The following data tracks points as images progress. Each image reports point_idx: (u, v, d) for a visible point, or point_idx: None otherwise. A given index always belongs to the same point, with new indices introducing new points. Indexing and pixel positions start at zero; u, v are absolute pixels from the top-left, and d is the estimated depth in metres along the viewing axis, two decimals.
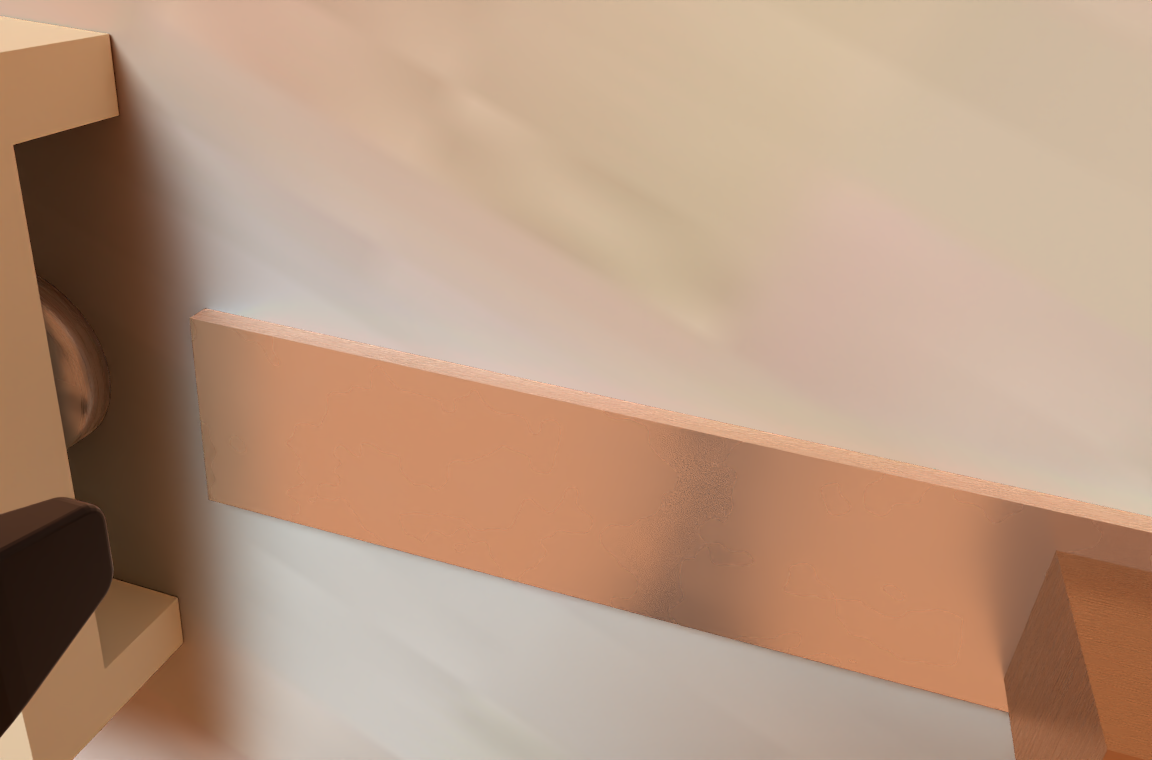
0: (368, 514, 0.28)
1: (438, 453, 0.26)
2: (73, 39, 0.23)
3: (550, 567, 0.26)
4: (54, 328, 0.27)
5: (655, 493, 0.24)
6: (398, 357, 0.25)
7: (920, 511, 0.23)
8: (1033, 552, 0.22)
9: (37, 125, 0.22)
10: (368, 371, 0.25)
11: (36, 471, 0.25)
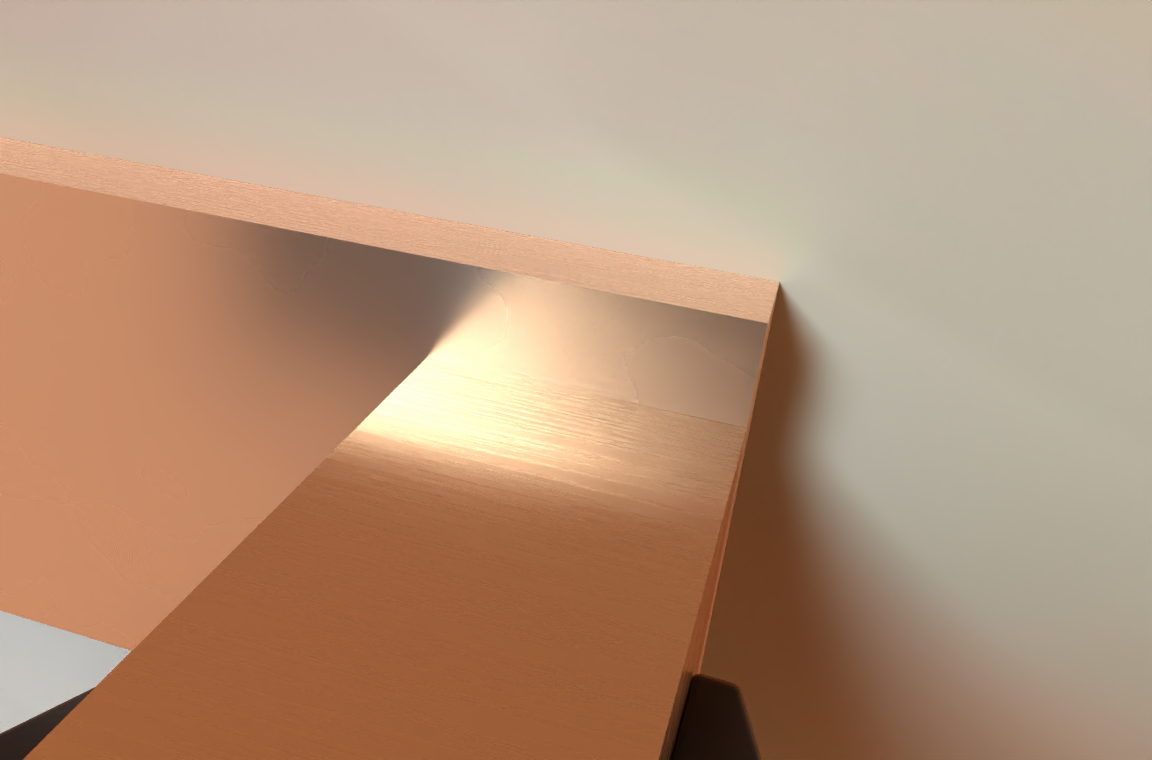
0: None
1: None
2: None
3: None
4: None
5: None
6: None
7: (140, 277, 0.10)
8: (384, 367, 0.09)
9: None
10: None
11: None
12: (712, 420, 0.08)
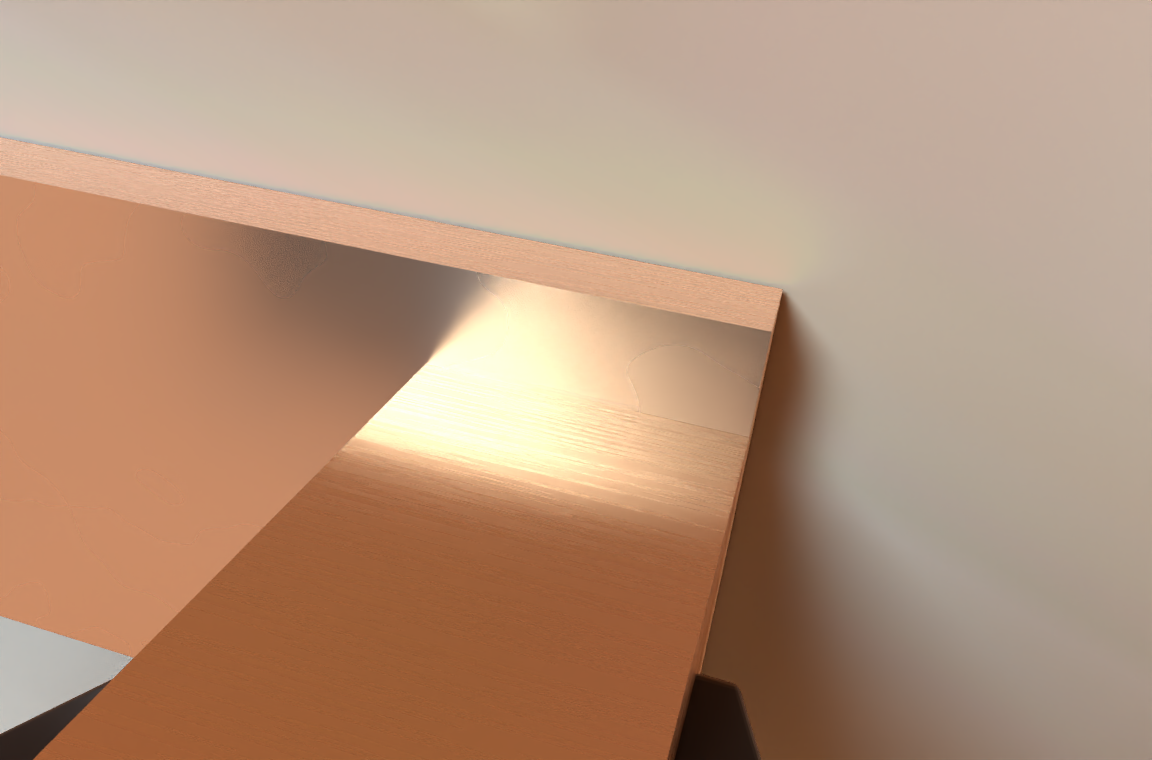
0: None
1: None
2: None
3: None
4: None
5: None
6: None
7: (136, 279, 0.09)
8: (383, 372, 0.09)
9: None
10: None
11: None
12: (714, 429, 0.08)
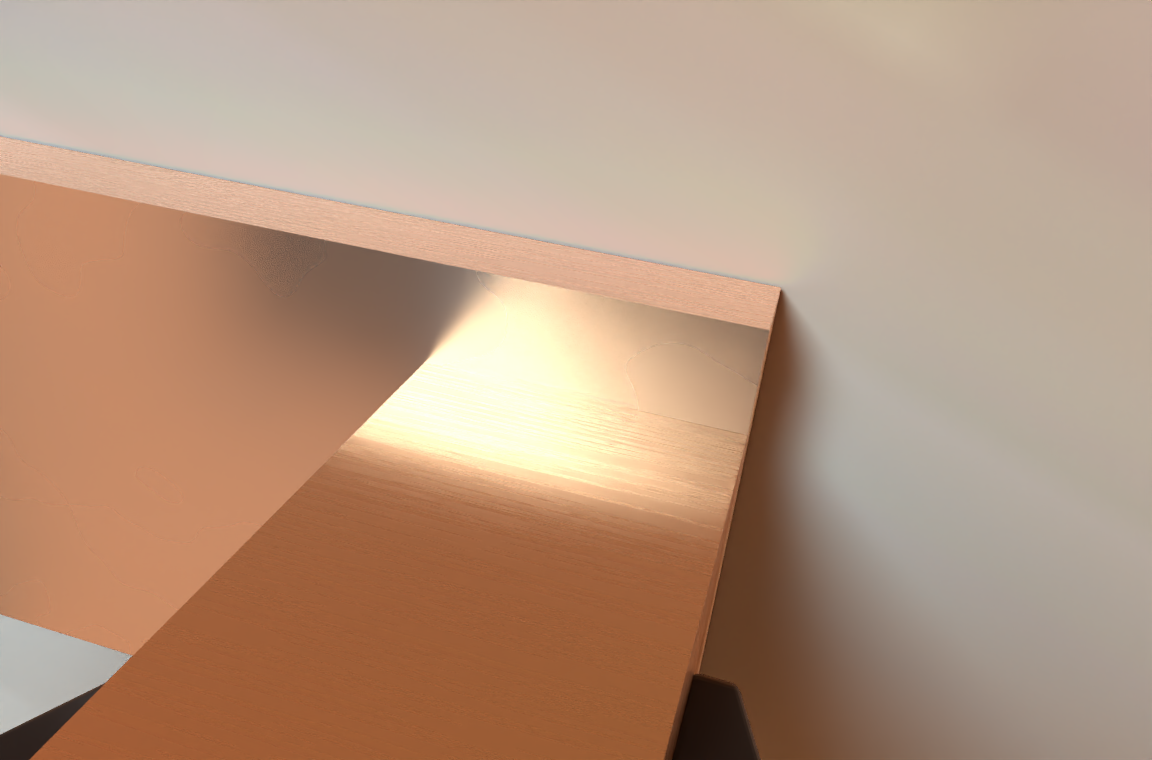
0: None
1: None
2: None
3: None
4: None
5: None
6: None
7: (135, 278, 0.09)
8: (382, 371, 0.09)
9: None
10: None
11: None
12: (713, 427, 0.08)
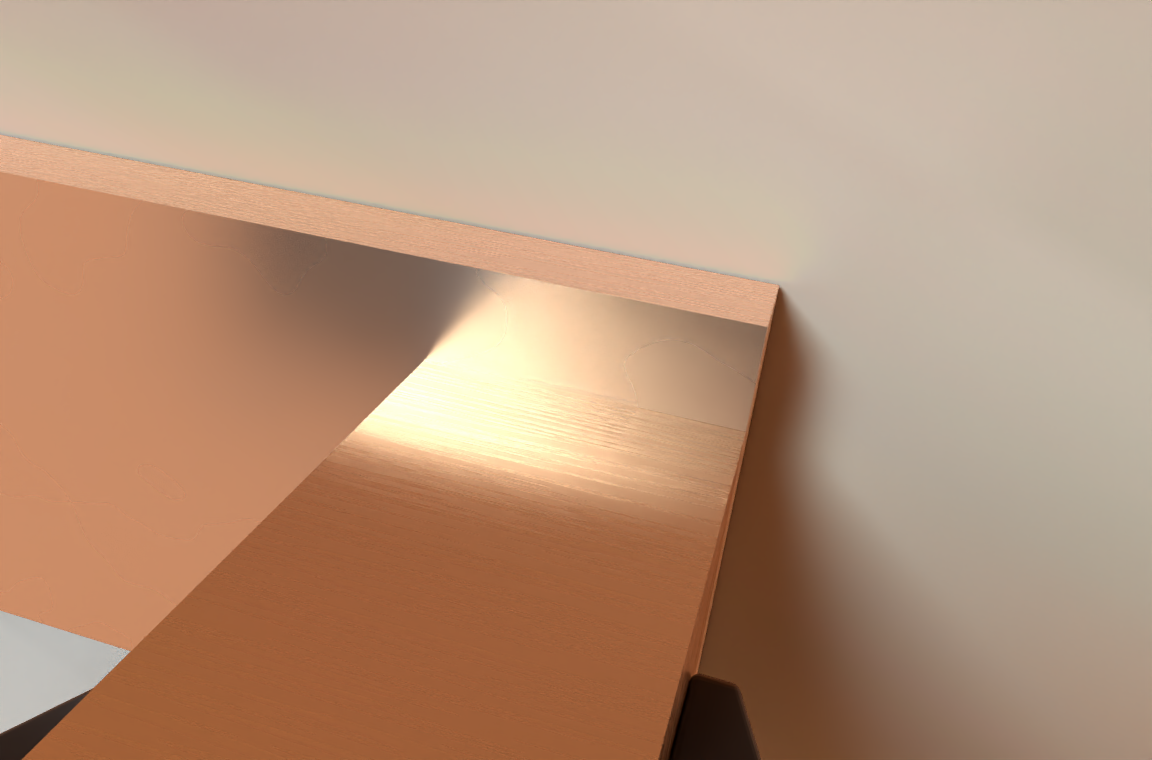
0: None
1: None
2: None
3: None
4: None
5: None
6: None
7: (138, 276, 0.10)
8: (382, 368, 0.09)
9: None
10: None
11: None
12: (711, 424, 0.08)
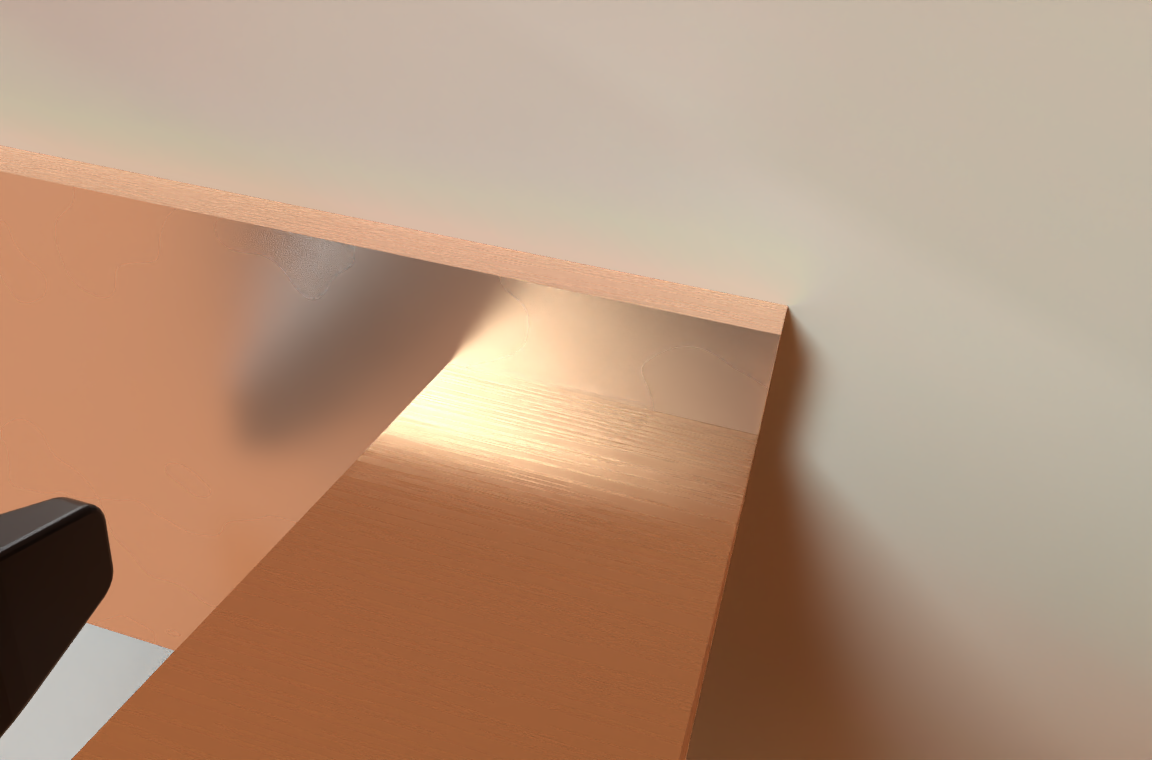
0: None
1: None
2: None
3: None
4: None
5: None
6: None
7: (170, 280, 0.10)
8: (407, 371, 0.09)
9: None
10: None
11: None
12: (723, 427, 0.09)
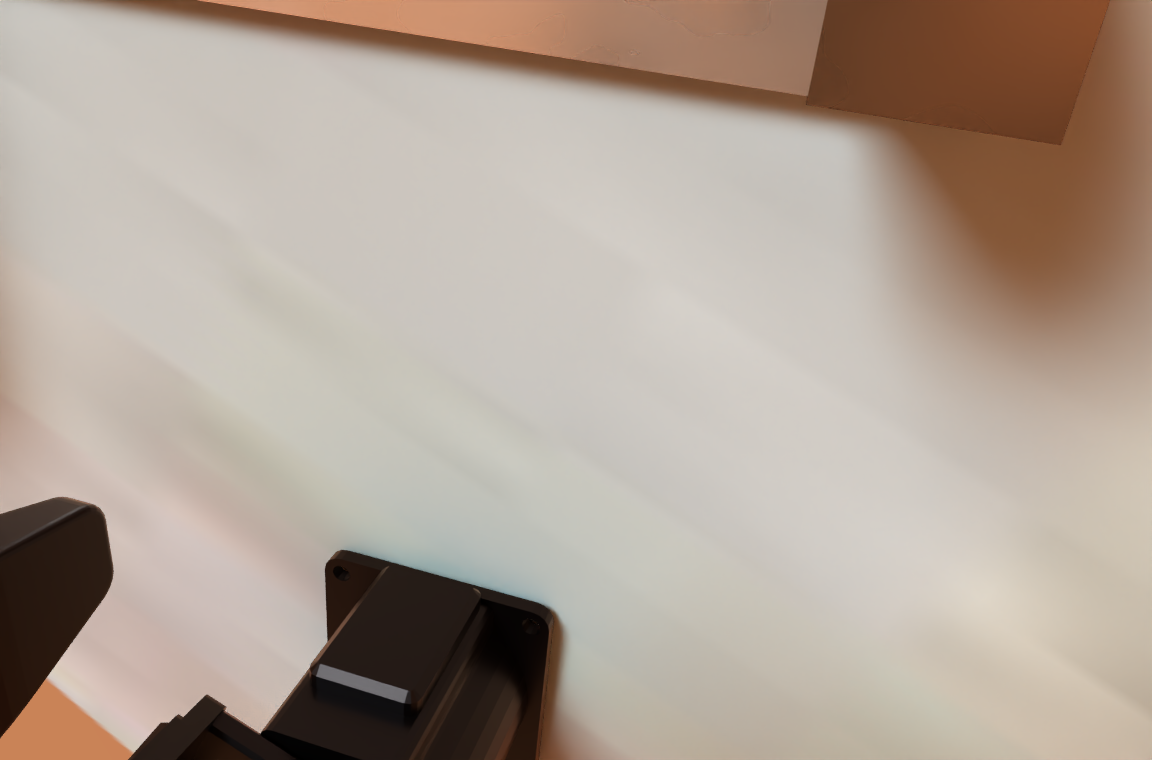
0: None
1: None
2: None
3: None
4: None
5: None
6: None
7: None
8: None
9: None
10: None
11: None
12: None
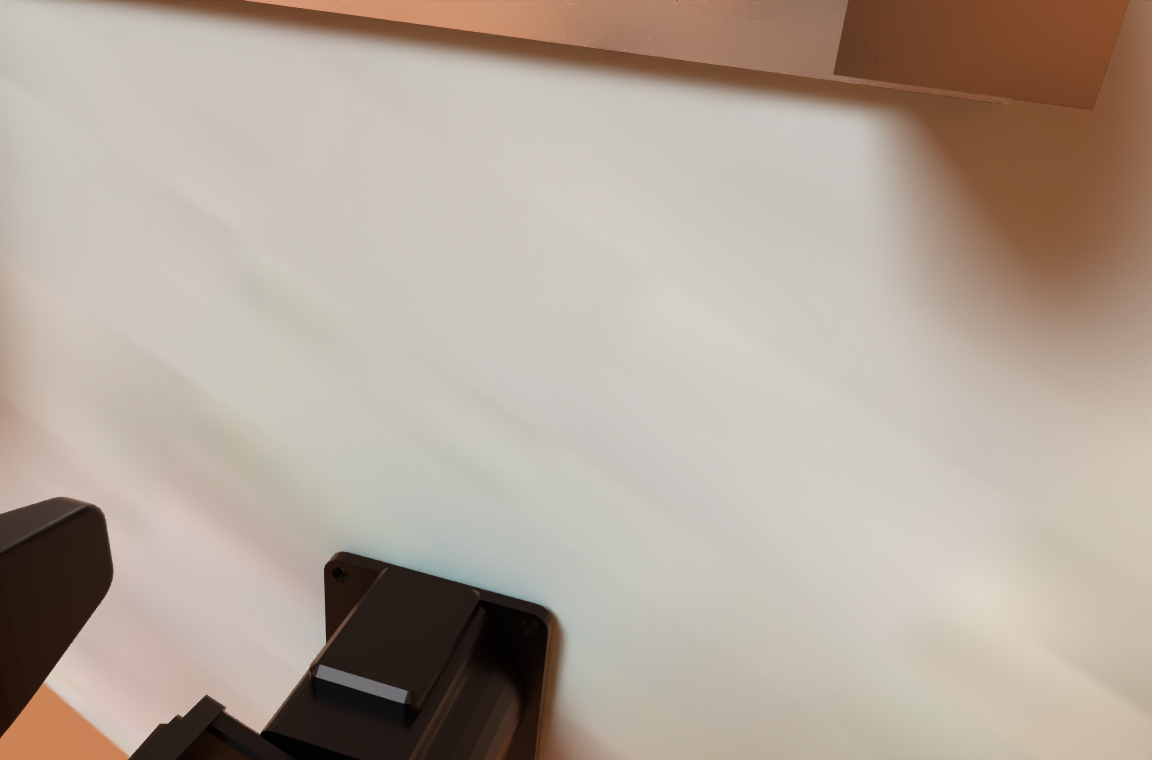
0: None
1: None
2: None
3: None
4: None
5: None
6: None
7: None
8: None
9: None
10: None
11: None
12: None
